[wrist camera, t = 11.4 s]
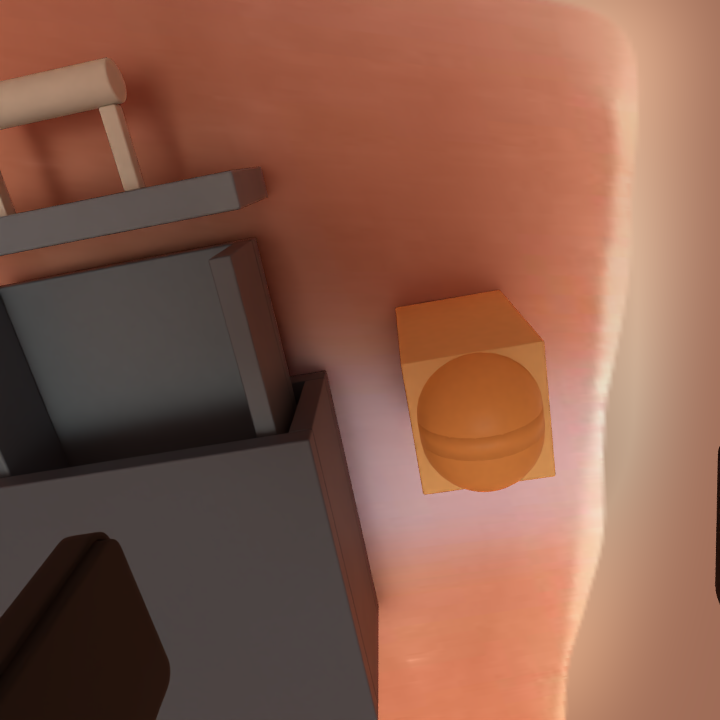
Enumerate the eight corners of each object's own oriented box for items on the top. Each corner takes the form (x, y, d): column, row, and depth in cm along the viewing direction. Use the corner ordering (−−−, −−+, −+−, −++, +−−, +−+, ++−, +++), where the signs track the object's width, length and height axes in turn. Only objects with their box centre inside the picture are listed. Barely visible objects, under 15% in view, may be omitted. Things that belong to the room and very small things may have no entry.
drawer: (-90, 120, 23) (-210, 112, 18) (233, 48, 21) (193, 20, 17) (63, 487, 28) (0, 553, 23) (326, 447, 27) (315, 508, 22)
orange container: (394, 307, 26) (402, 385, 17) (499, 289, 25) (561, 360, 17) (412, 409, 27) (427, 526, 19) (511, 394, 27) (572, 506, 18)
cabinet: (36, 418, 28) (-66, 498, 22) (326, 370, 27) (309, 439, 20) (127, 637, 32) (65, 757, 26) (378, 606, 31) (378, 724, 25)
